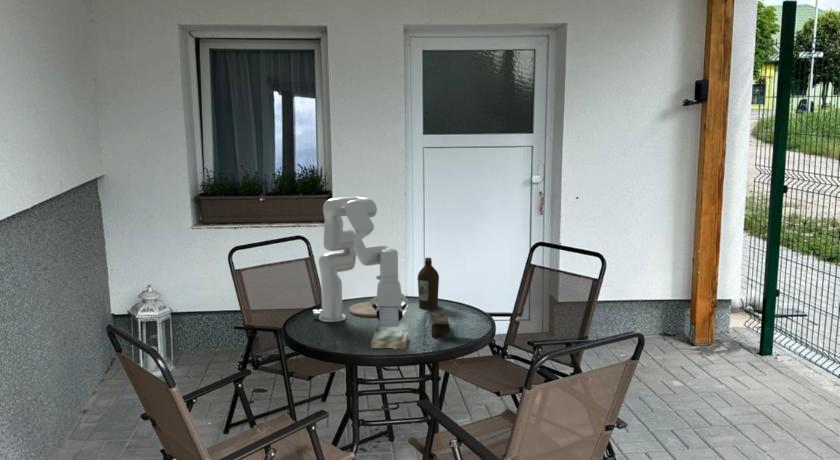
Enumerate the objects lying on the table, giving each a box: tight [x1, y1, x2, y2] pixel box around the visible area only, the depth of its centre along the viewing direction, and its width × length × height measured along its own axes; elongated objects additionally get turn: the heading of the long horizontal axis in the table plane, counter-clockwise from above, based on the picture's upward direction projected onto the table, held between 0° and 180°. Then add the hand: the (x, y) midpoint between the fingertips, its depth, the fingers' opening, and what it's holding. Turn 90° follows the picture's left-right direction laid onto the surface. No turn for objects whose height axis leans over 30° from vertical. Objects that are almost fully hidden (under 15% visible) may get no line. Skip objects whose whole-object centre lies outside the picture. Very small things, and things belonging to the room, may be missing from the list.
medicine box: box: [379, 307, 401, 328], centre depth 305 cm, size 8×4×9 cm, turn 84°
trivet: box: [348, 300, 377, 318], centre depth 360 cm, size 25×25×2 cm
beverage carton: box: [428, 312, 451, 339], centre depth 324 cm, size 8×19×7 cm, turn 3°
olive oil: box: [417, 257, 440, 310], centre depth 365 cm, size 11×11×25 cm
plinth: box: [370, 330, 409, 350], centre depth 307 cm, size 14×14×4 cm
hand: (389, 319), depth 306 cm, fingers closed on medicine box, 8 cm apart
